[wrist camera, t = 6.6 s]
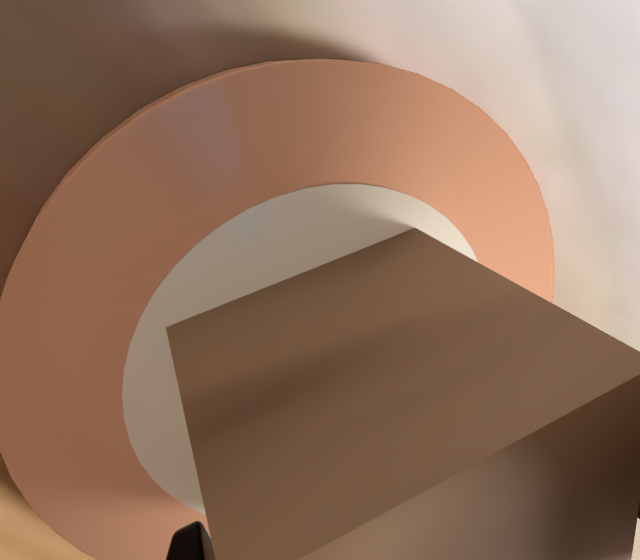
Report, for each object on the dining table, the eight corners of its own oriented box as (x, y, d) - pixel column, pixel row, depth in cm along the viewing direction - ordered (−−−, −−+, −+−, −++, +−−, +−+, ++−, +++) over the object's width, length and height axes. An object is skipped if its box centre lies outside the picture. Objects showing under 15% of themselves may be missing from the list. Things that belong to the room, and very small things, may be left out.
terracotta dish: (523, 416, 16) (555, 444, 14) (154, 614, 13) (158, 666, 12) (509, -12, 10) (560, -21, 9) (-171, 183, 7) (-223, 207, 6)
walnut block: (441, 411, 12) (625, 605, 8) (250, 507, 11) (341, 796, 7) (414, 227, 10) (660, 363, 5) (165, 327, 8) (224, 599, 4)
